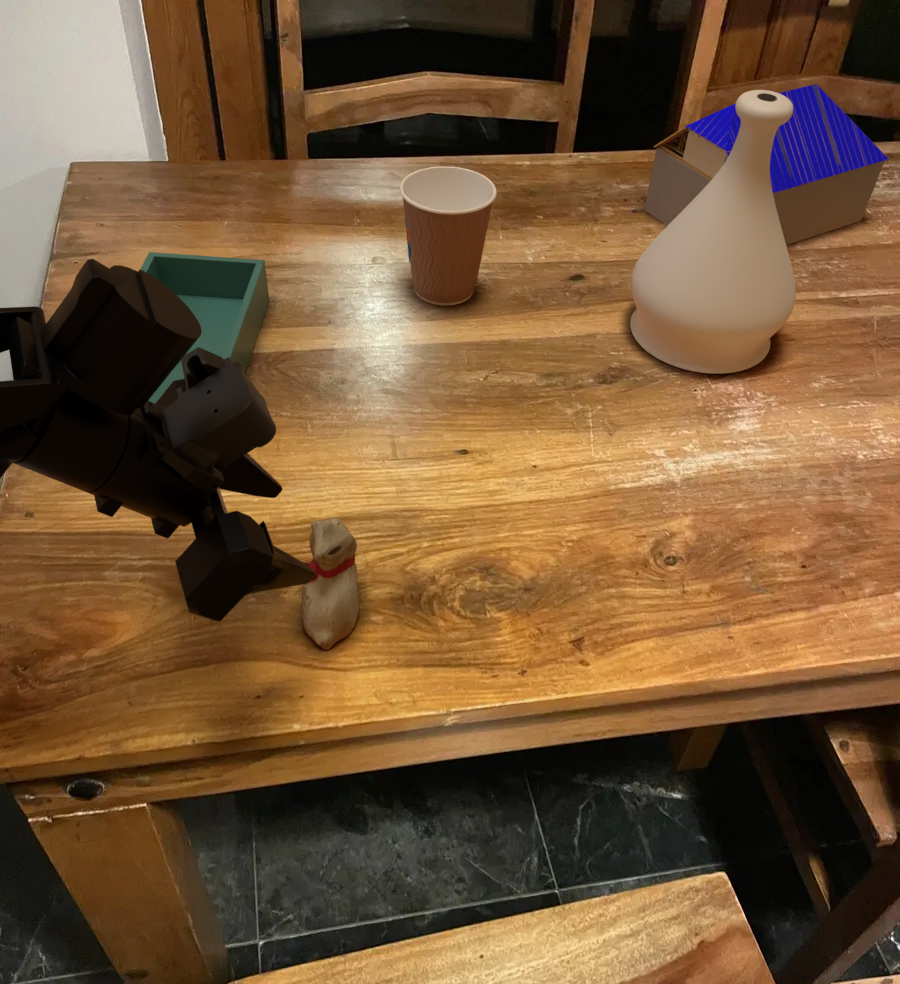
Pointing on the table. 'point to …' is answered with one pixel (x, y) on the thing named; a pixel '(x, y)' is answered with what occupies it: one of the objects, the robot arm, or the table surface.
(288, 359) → the table surface
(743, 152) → the vase
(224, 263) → the bin
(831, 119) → the house
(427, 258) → the coffee cup
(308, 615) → the chocolate bunny
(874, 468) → the table surface
